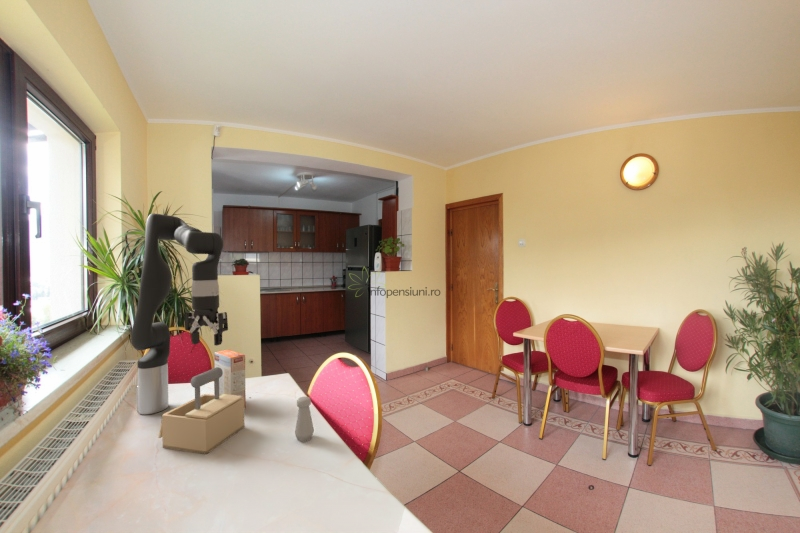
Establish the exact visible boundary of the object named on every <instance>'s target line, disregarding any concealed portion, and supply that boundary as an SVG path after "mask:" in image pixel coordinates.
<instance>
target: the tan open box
mask: <svg viewBox="0 0 800 533" xmlns="http://www.w3.org/2000/svg"><path fill="white" fill-rule="evenodd" d="M213 399H215V395H214V394H210V393H209V394H208V393H207V394H206V393H203V394H200V406H201V405H203V404H205V403H207V402H209V401H211V400H213ZM194 409H195V398H193V399H190V400H189V401H187V402H185V403H183V404H181V405H178V406H177V407H175V408H173V409H170V410H168V411H167V412H164V413H163V414H162V415H161V424H160V428H159V432H158V439H161V438H162V448H164V449H171V450H176V451H181V452H182V451H183V452H188V453H189V452H190V453H194V454H195V453H196V454H203V455H207V454H209V453H211V451H213V450H214V449H215V448H217V447H219V446H220V445H221V444H223V443H224V442H225V441H226V440H228V439H229V438H230V439H231V437H233V436H234V435H235V434H237V433H238V432H239V431H241V430H242V429H245V408H244V398H241V399H240V400H238V401H236V402H234V403H233V404H231V405H229V406H228V407H226V408H224V409H223V410H221V411H219V412H217V413H216V414H214V415H212V416H211V417H209V418H207V419H204V418H196V417H188V416H185V414H186V413H188V412H190V411H192V410H194Z"/></svg>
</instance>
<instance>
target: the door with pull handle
mask: <svg viewBox="0 0 800 533" xmlns="http://www.w3.org/2000/svg"><path fill="white" fill-rule="evenodd" d="M222 374H223V371H222V369H221V368H219V367H216V368H215V367H214V368H212V369H209V370H207V371H204V372H201V373H199V374H197V375H195V376H192V377H191V379H190V385H191V387H192V388H194V399H195V409H194V410H192V411H190V412H188V413H186V414H185V416H188V417H196V418H204V419H207V418H209V417H211V416H212V415H214V414H216V413H217V412H219V411H221V410H223V409H224V408H226V407H228V406H229V405H231V404H233V403H234V402H236V401H238V400H240V399H241V398H243V396H237V395H228V394H222V395H220V396H219V378H220V377H221V376H222ZM211 382H214V383H213V384H214V386H213V387H214V393H213V395H215V399H213V400H211V401H209V402H207V403H205V404H203V405H201V406H200V396H201V387H202V386H205V385H207V384H210V383H211Z"/></svg>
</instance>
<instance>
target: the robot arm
mask: <svg viewBox="0 0 800 533" xmlns="http://www.w3.org/2000/svg"><path fill="white" fill-rule="evenodd" d="M144 231H145V234H144V235H145V236H144V254H143V255H144V256H143V263H142V270H141V275H140V283H139V295H138V299H137V301H138V302H137V308H136V311H135V312H136V313H135V316H134V320H133V325H132V329H131V335H130V342H131V343H130V344H131V345H132V347H133V348H134V349H135V350H137V351H145V350H148V351H147V352H146V353H145V354H144V355H143V356H142V357H140V358H139V359H138V360H137V386H136V387H135V389H136V390H135V394H136V397H135V398H136V412H137V413H138V414H139V415H151V414H156V413H158V412H162V411H164V410H166V409H167V408H169V405H170V404H169V367H168V365H169V364H168V361H169V360H168V359H169V357H170V353H171V350H170V349H171V331H170V328H169V326H168V324H166V323H165V322H163V321H159V322H158V321H157V322H153V321H154V317H155V314H156V313H157V311H158V309H159V308H160V307H161V306H162V304H163V303H164V301H166V298H167V297H168V295H169V293H170V291H171V285H172V284H171V283H172V280H173V279H172V277H173V275H172V272H171V268H169V266H168V264H167V262H166V261H165V259H164V258H163V256H162V253H161V251H160V249H159V240H166V241H176V242H177V243H178V244H180V245H181V246H183V247H184V248H185V250H186V252H187V253H189V254H193V255H207V257H206V258H205V259H204V260H201V261H200V260H199V261H197V262H194V263H192V266H191V273H192V274H191V275H192V278H191V279H192V282H191V309H192V311H187V312H185V319H184V320H185V321H184V323H185V324H184V325H185V328H184V329H185V331H186V332H187V331H188V332H189V333H190V339H191V344H192V345H197V344H199V343H200V340H201V339H200V331H199V330H201V328H202V327H204V326H205V327H208V328H209V329H211V330H212V331H213V343H214V346H220V345H222V343H223V333H224V332H227V331H228V330H229V325H228V323H229V322H228V312H226V311H225V312H219V308H220V286H219V278H218V276H219V275H218V272H219V271H218V267H219V263H220V259H221V258H220V257H221V254H222V253H223V247H224V241H223V237H222V236H221V234H219V233H217V232H206V231H202V230H200V229H199V228H196V227H193V226H192V225H189V224H188V223H186V222H185V221H184V220H183V219H182V218H180V217H177V216H174V215H168V214H162V213H161V214H160V213H152V212H151V213H150V214H149V215H148V216H147V217H146V223H145V230H144Z"/></svg>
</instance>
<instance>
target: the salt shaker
mask: <svg viewBox="0 0 800 533" xmlns="http://www.w3.org/2000/svg"><path fill="white" fill-rule="evenodd" d="M311 404H312V401H311V397H309V396H301V397H298V399H297V400H296V406H297V407H298V409H297V410H298V412H297V419H296V424H295V430H294V436H295V437H296V439H297V441H298V442H301V443H304V442H308V441H310V440H311V439H312V438H313V434H314V431H315V430H314V424H313V420H312V415H311V410H310V405H311Z"/></svg>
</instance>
